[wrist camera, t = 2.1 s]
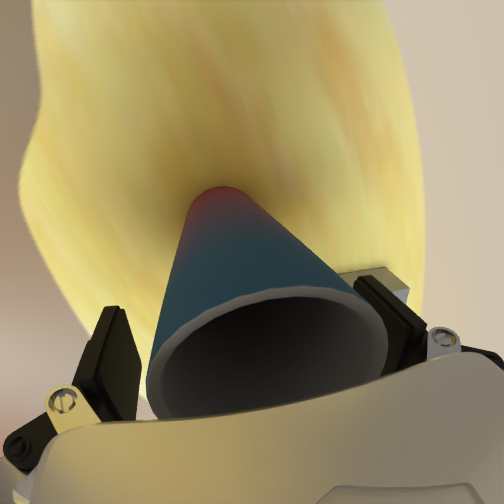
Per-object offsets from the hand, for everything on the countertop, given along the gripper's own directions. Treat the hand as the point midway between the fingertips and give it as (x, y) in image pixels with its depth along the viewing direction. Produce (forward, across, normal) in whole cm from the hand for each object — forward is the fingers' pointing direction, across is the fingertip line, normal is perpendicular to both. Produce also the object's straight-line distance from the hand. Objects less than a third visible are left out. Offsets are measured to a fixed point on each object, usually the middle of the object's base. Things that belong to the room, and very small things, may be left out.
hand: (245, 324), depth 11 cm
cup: (+11, 0, -1) cm, 11 cm away
